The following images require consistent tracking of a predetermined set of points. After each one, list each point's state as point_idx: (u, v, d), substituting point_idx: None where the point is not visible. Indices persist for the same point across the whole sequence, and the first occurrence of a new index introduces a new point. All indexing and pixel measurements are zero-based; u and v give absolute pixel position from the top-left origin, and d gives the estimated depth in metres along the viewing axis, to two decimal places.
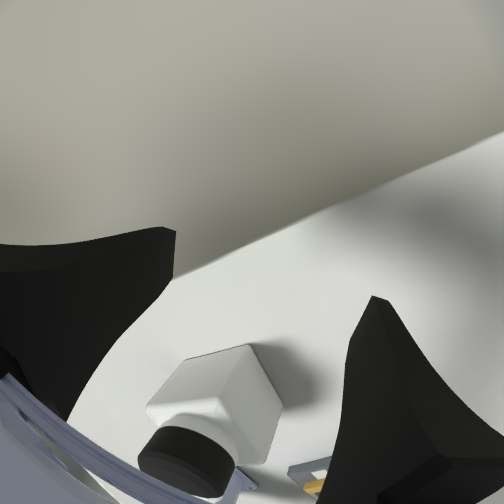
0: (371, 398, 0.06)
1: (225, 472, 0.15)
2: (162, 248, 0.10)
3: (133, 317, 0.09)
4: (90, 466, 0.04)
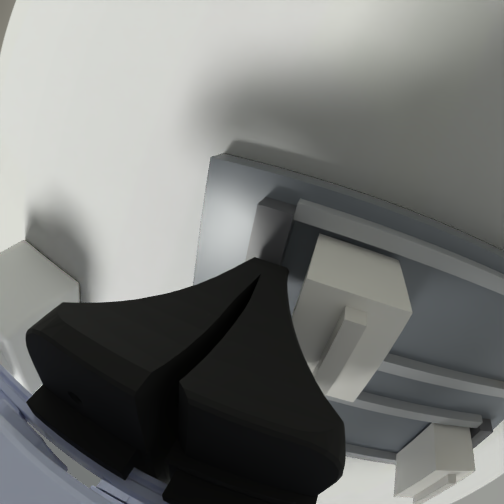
0: None
1: None
2: None
3: None
4: (90, 466, 0.04)
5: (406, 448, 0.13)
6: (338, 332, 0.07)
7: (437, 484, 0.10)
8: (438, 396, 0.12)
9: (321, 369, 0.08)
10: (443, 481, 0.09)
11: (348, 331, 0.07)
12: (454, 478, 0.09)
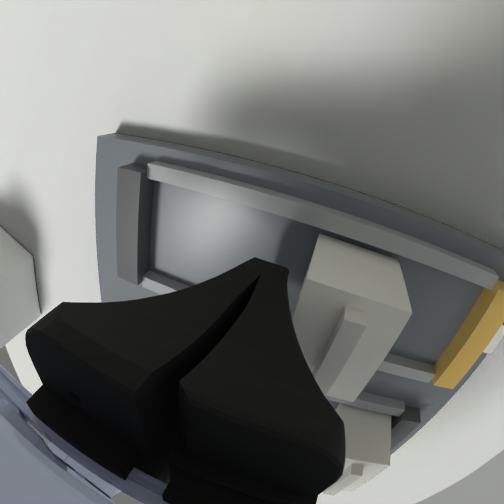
0: None
1: None
2: None
3: None
4: (90, 466, 0.04)
5: None
6: (338, 332, 0.07)
7: None
8: None
9: (321, 369, 0.08)
10: (347, 471, 0.10)
11: (348, 331, 0.07)
12: (360, 470, 0.10)
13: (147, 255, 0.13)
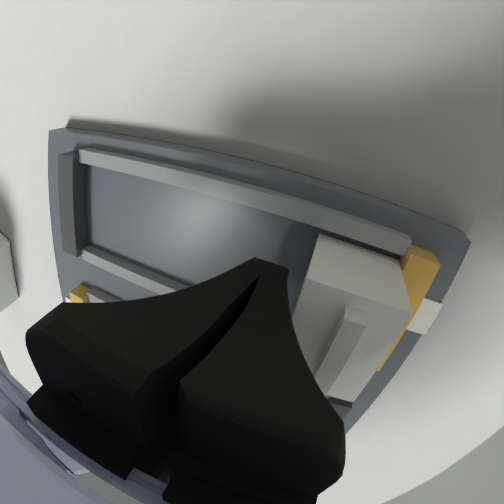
0: None
1: None
2: None
3: None
4: (90, 466, 0.04)
5: None
6: (338, 332, 0.07)
7: None
8: None
9: (321, 369, 0.08)
10: None
11: (348, 331, 0.07)
12: None
13: (85, 230, 0.14)
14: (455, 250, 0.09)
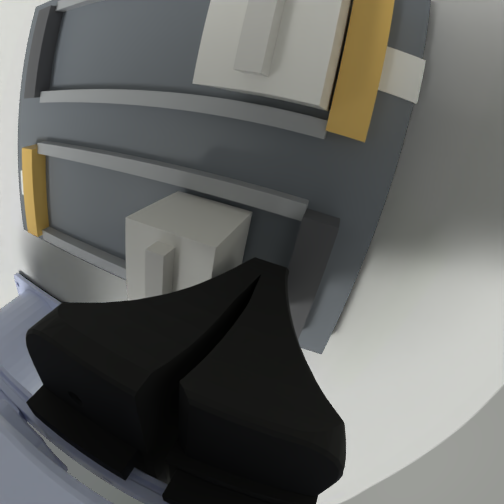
0: None
1: None
2: None
3: None
4: (90, 466, 0.04)
5: None
6: None
7: None
8: (202, 147, 0.11)
9: (249, 13, 0.05)
10: None
11: None
12: (166, 249, 0.08)
13: (47, 74, 0.11)
14: (416, 2, 0.06)
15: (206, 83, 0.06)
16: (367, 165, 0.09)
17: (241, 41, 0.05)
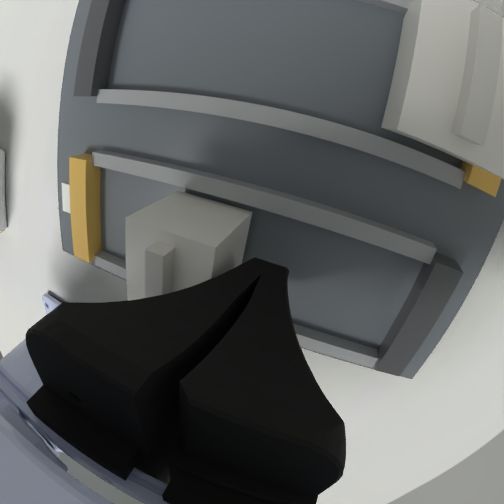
0: None
1: None
2: None
3: None
4: (90, 466, 0.04)
5: None
6: (479, 21, 0.03)
7: None
8: (331, 180, 0.10)
9: (475, 77, 0.04)
10: None
11: (488, 21, 0.03)
12: (166, 249, 0.08)
13: (107, 68, 0.10)
14: None
15: (412, 134, 0.05)
16: (484, 212, 0.08)
17: (464, 104, 0.04)
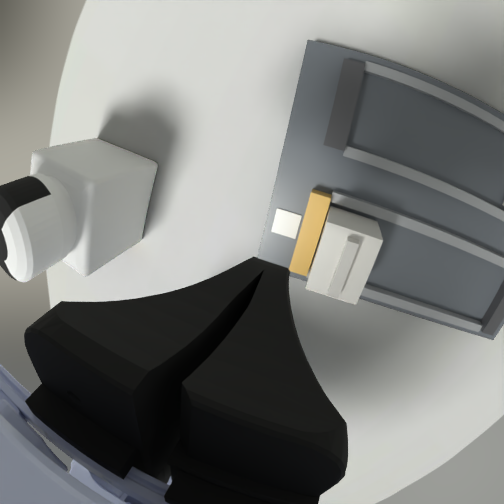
0: None
1: (23, 186, 0.13)
2: None
3: None
4: (90, 466, 0.04)
5: (317, 248, 0.18)
6: None
7: (341, 254, 0.15)
8: (476, 229, 0.15)
9: None
10: (345, 245, 0.15)
11: None
12: (356, 241, 0.14)
13: (350, 130, 0.15)
14: None
15: None
16: None
17: None
